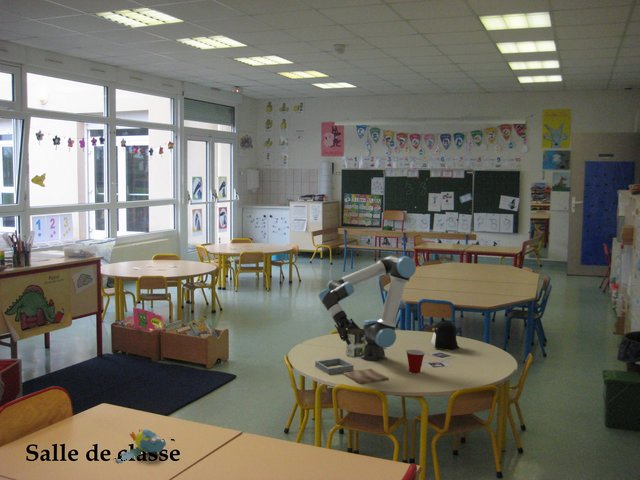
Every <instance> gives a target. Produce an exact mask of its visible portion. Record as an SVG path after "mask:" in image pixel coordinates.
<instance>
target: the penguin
mask: <svg viewBox="0 0 640 480" xmlns="http://www.w3.org/2000/svg"><path fill="white" fill-rule="evenodd" d="M452 322H453V321H451V320H447V319H446V320H445V319H444V320H443V319H442V320H441V321H439V322H437V323H435V325H434V326H433V328H432V329H431V330H432V331H433V334H432V338H431V341H430V342H431V345H432V346H433V347H434V348H435V347H436V349H437V348H439V349H438V350H445V349H451V350H455V349H459V348H460V346H459V345H458V341H457V332H458V331H457V327H456V325H454V323H452ZM454 348H455V349H454Z"/></svg>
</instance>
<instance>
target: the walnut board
mask: <svg viewBox="0 0 640 480" xmlns="http://www.w3.org/2000/svg"><path fill="white" fill-rule="evenodd" d="M342 375H343V376H345V377H346V378H349V379H350V380H352V381H354V382H355V383H357V384H358V385H364V384H371V383H377V382H382V381H389V379H390V378H389V377H388V376H386V375H384V374H382V373H380V372H379V371H376V370H375V369H373V368H367V369H360V370H353V371H347V372H342Z"/></svg>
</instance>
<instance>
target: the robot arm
mask: <svg viewBox="0 0 640 480" xmlns="http://www.w3.org/2000/svg"><path fill="white" fill-rule="evenodd" d="M416 269H417V264H416V262H415V260H414V259H413V258H411V257H409V256H407V255H402V254H397V253H396V254H395V253H393V254H391V255H388V256H385V257H383V258H380V259H378V260H377V262H376V263H373V264H371V265H369V266H367V267H364V268H362V269H360V270H357V271H355V272H353V273H349V274H347V275H345V276H343V277H340V278H338V279H331V280H329V281H328V282H327V284H326V288H325V289H323V290H321V291H320V293H319V294H318V298H319V299H320V301H321V303H322V304H323V306H324V307H325V309H326V311H328V313H329V315H330V316H331V318H332V319H333V321H334V323H335V324H334V327H335V328H336V331H337V332H338V336H339V338H340V340H341V341H343V342H346V343H347V344H348V345H349V346H350V348H351V349H352V350H354V349H355V348H356V347H355V345H354V344H353V342H352V341H351V339H350V338H348V335H347V331H346V330H347V329H350V328H359V329H361V327H360V326H359V325H358V324H357V323H355V321H354V320H353V318H350V319H348V315H347V313H346V311H345V310H344V309H343V307H342V306H341V304H340V303H339V302H341V301H342V300H344V299H346V298H347V297H350V296H351V295H352V294H354V293H355V288H354V287H356V286H358V285H360V284H363V283H366V282H368V281H370V280H372V279H374V278H378V277H380V276H387V275H388V274H389V277H390V283H389V285H388V289H387V294H386V297H385V300H384V303H383V304H384V305H383V308H382V311H381V315H380V318H377V319H376V318H369V319H364V321H363V325H362V329H364V330H365V352H364V355H365V356H364V357H362V358H361V359H362V360H367V361H381V360H385V358H386V353H385V349H384V348H389V347H391V346H393V345H394V344H395V342H396V341H397V334H396V328H397V325H396V323H395V321H396V318H397V314H398V311H399V307H400V305H401V300H402V297H403V294H404V289H405V286H406V284H407V283H408V282H410V279H411V277H412V276H414V275H415V273H416ZM346 343H345V344H346Z"/></svg>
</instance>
